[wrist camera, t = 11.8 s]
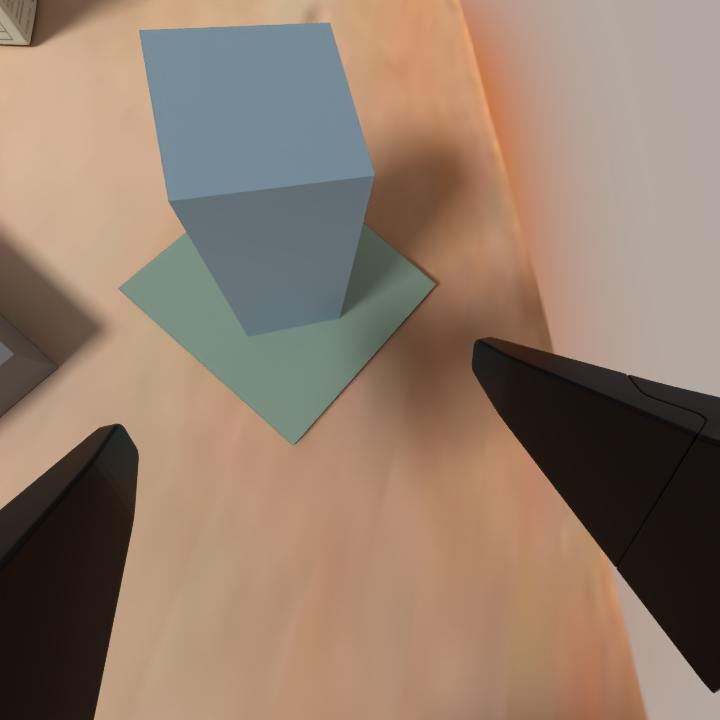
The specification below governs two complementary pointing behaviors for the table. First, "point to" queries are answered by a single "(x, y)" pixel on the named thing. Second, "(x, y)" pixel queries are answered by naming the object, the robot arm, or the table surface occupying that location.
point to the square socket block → (19, 365)
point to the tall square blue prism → (263, 164)
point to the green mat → (284, 347)
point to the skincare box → (16, 21)
